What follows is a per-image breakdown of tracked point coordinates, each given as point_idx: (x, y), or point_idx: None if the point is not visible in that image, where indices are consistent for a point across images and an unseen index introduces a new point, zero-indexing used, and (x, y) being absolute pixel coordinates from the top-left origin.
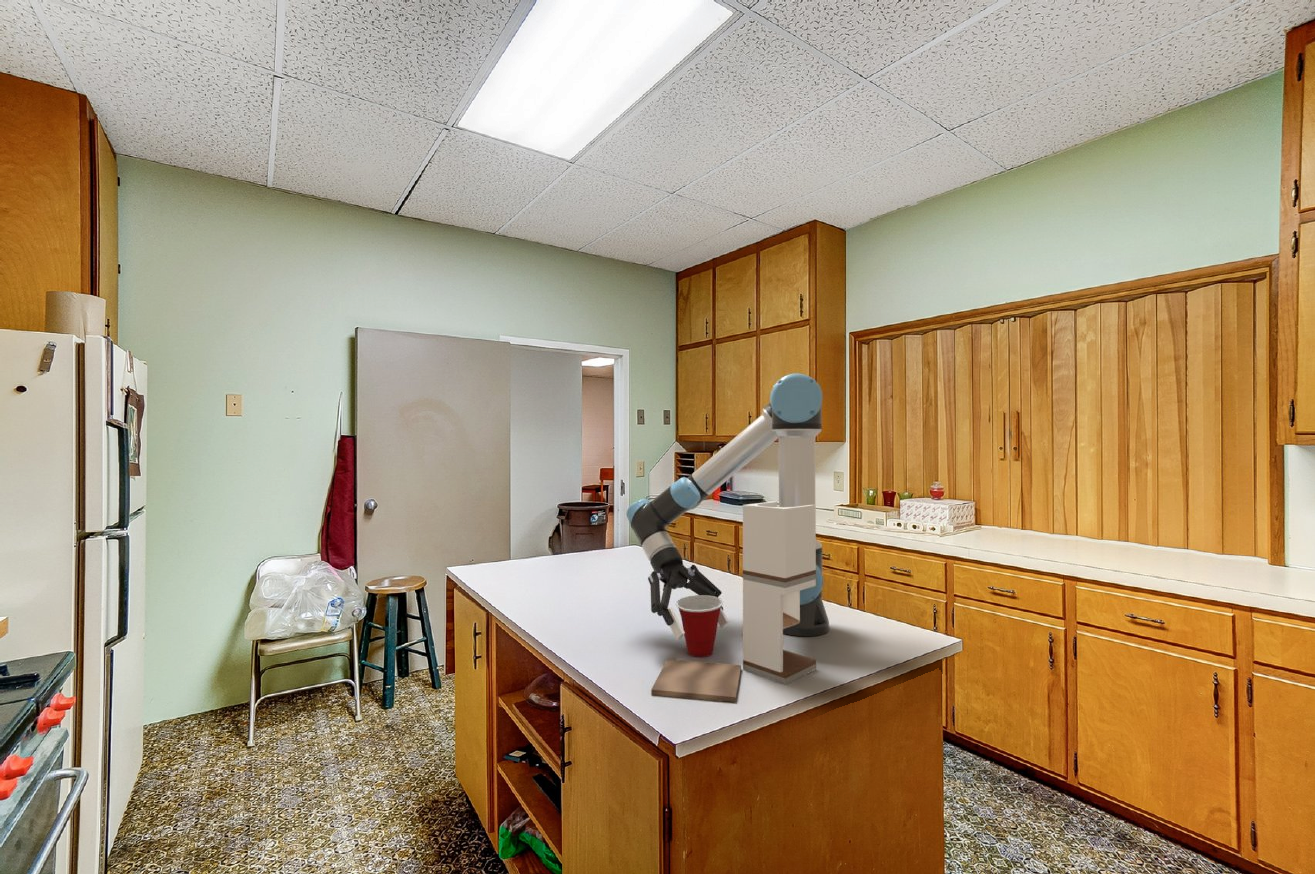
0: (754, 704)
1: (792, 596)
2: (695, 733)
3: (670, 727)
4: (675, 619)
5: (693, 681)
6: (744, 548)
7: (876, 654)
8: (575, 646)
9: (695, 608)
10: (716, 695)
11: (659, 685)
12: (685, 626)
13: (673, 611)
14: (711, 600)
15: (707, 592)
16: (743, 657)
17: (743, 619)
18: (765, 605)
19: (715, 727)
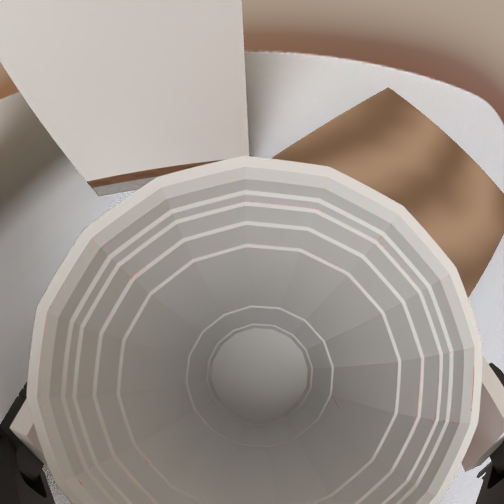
0: (357, 76)
1: None
2: (471, 95)
3: (496, 123)
4: (482, 356)
5: (436, 176)
6: None
7: (9, 118)
8: None
9: (193, 501)
10: (418, 110)
11: (501, 210)
12: (371, 389)
13: (496, 402)
14: (70, 414)
15: (21, 498)
16: (248, 150)
17: (243, 39)
18: None
19: (444, 85)
